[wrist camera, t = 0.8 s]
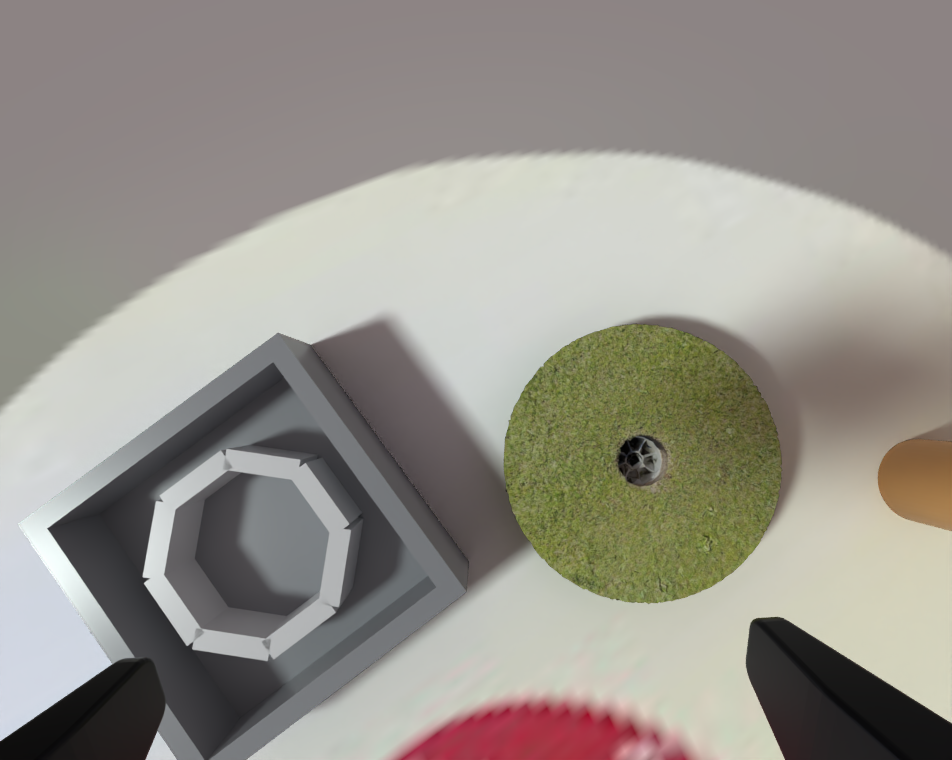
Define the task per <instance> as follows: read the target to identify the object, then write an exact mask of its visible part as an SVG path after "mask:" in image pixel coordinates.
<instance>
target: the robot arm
mask: <svg viewBox="0 0 952 760" xmlns="http://www.w3.org/2000/svg"><path fill="white" fill-rule="evenodd" d="M746 668H747V673H748V676H749V679H750V682H751V684H752V686H753V688H754V691H755V693H756V695H757V697H758V700H759V702H760V704H761V706H762V709H763V711H764V713H765V715H766V718H767V720H768V722H769V724H770V727H771V729H772V731H773V733H774V736H775V738H776V740H777V742H778V745H779V747H780V749H781V751H782V754H783V756H784V758H785V760H952V723H950V722H949V721H947V720H945V719H944V718H942V717H941V716H939V715H937V714H936V713H934V712H933V711H931V710H930V709H928V708H926V707H925V706H923V705H922V704H920V703H918V702H917V701H915V700H914V699H912V698H910V697H909V696H907V695H906V694H904V693H902V692H901V691H899V690H898V689H896V688H894V687H893V686H891V685H890V684H888V683H886V682H885V681H883V680H882V679H880V678H878V677H877V676H875V675H874V674H872V673H871V672H869V671H867V670H866V669H864V668H863V667H861V666H859V665H858V664H856V663H855V662H853V661H851V660H850V659H848V658H847V657H845V656H843V655H842V654H840V653H839V652H837V651H835V650H834V649H832V648H831V647H829V646H827V645H826V644H824V643H823V642H821V641H819V640H818V639H816V638H815V637H813V636H811V635H810V634H808V633H807V632H805V631H804V630H802V629H800V628H799V627H797V626H796V625H794V624H792V623H791V622H789V621H787V620H786V619H784V618H781V617H768V618H756V619H754V620H753V621H752V622H751V624H750V629H749V638H748V646H747V654H746ZM165 707H166V697H165V693H164V690H163V687H162V684H161V681H160V678H159V675H158V671H157V668H156V665H155V663H154V661H153V660H152V659H151V658H149V657H136V658H125V659H121V660H118V661H117V662H115V663H114V664H112V665H111V666H109V667H108V668H106V669H105V670H103V671H102V672H100V673H99V674H98V675H96V676H95V677H93V678H92V679H90V680H89V681H87V682H86V683H84V684H83V685H82V686H80V687H79V688H77V689H76V690H74V691H73V692H71V693H70V694H68V695H67V696H66V697H64V698H63V699H61V700H60V701H58V702H57V703H55V704H54V705H52V706H51V707H50V708H48V709H47V710H45V711H44V712H42V713H41V714H39V715H38V716H36V717H35V718H34V719H32V720H31V721H29V722H28V723H26V724H25V725H23V726H22V727H20V728H19V729H18V730H16V731H15V732H13V733H12V734H10V735H9V736H7V737H6V738H4V739H3V740H2V741H0V760H145V759H146V757H147V755H148V752H149V750H150V747H151V745H152V743H153V740H154V738H155V735H156V733H157V731H158V728H159V726H160V723H161V721H162V719H163V716H164V712H165Z"/></svg>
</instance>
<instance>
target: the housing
mask: <svg viewBox="0 0 952 760" xmlns="http://www.w3.org/2000/svg"><path fill="white" fill-rule="evenodd" d="M18 525H19V527H20V528H21V530H22V531H23V533H24V534H25V536H26V537H27V539H28V540H29V542H30V543H31V544H32V546H33V547H34V549H35V550H36V552H37V553H38V555H39V556H40V558H41V559H42V561H43V562H44V564H45V565H46V567H47V568H48V570H49V571H50V573H51V574H52V575H53V577H54V578H55V580H56V581H57V583H58V584H59V586H60V587H61V589H62V590H63V592H64V593H65V595H66V596H67V598H68V599H69V601H70V602H71V604H72V605H73V606H74V608H75V609H76V611H77V612H78V614H79V615H80V617H81V618H82V620H83V621H84V623H85V624H86V626H87V627H88V629H89V630H90V632H91V633H92V635H93V636H94V638H95V639H96V640H97V642H98V643H99V645H100V646H101V648H102V649H103V651H104V652H105V654H106V655H107V657H108V658H109V660H110V661H111V663H112V664H114V663H115V662H117V661H118V660H121V659H125V658H136V657H149V658H151V659H152V660H153V661H154V663H155V665H156V668H157V671H158V675H159V678H160V681H161V684H162V687H163V690H164V693H165V697H166V707H165V712H164V716H163V719H162V721H161V723H160V726H159V728H158V732H159V734H160V735H161V736H162V738H163V739H164V741H165V742H166V744H167V745H168V747H169V748H170V750H171V751H172V753H173V754H174V756H175V757H176V759H177V760H246V759H248V758H249V757H250V756H252V755H253V754H254V753H256V752H257V751H258V750H260V749H261V748H262V747H264V746H265V745H266V744H267V743H269V742H270V741H271V740H273V739H274V738H275V737H277V736H278V735H279V734H281V733H282V732H283V731H285V730H286V729H287V728H289V727H290V726H291V725H292V724H294V723H295V722H296V721H298V720H299V719H300V718H302V717H303V716H304V715H306V714H307V713H308V712H310V711H311V710H312V709H313V708H315V707H316V706H317V705H319V704H320V703H321V702H323V701H324V700H325V699H327V698H328V697H329V696H331V695H332V694H333V693H335V692H336V691H337V690H338V689H340V688H341V687H342V686H344V685H345V684H346V683H348V682H349V681H350V680H352V679H353V678H354V677H356V676H357V675H358V674H359V673H361V672H362V671H363V670H365V669H366V668H367V667H369V666H370V665H371V664H373V663H374V662H375V661H377V660H378V659H379V658H380V657H382V656H383V655H384V654H386V653H387V652H388V651H390V650H391V649H392V648H394V647H395V646H396V645H398V644H399V643H400V642H402V641H403V640H404V639H405V638H407V637H408V636H409V635H411V634H412V633H413V632H415V631H416V630H417V629H419V628H420V627H421V626H423V625H424V624H425V623H426V622H428V621H429V620H430V619H432V618H433V617H434V616H436V615H437V614H438V613H440V612H441V611H442V610H444V609H445V608H446V607H447V606H449V605H450V604H451V603H453V602H454V601H455V600H457V599H458V598H459V597H461V596H462V595H463V594H465V593H466V592H467V582H468V568H469V561H468V560H467V559H466V557H465V556H464V554H463V553H462V552H461V550H460V549H459V548H458V546H457V545H456V543H455V542H454V541H453V539H452V538H451V537H450V535H449V534H448V533H447V531H446V530H445V528H444V527H443V526H442V524H441V523H440V522H439V520H438V519H437V517H436V516H435V515H434V513H433V512H432V511H431V509H430V508H429V507H428V505H427V504H426V502H425V501H424V500H423V498H422V497H421V496H420V494H419V493H418V491H417V490H416V489H415V487H414V486H413V485H412V483H411V482H410V481H409V479H408V478H407V476H406V475H405V474H404V472H403V471H402V470H401V468H400V467H399V466H398V464H397V463H396V461H395V460H394V459H393V457H392V456H391V455H390V453H389V452H388V450H387V449H386V448H385V446H384V445H383V444H382V442H381V441H380V440H379V438H378V437H377V435H376V434H375V433H374V431H373V430H372V429H371V427H370V426H369V424H368V423H367V422H366V420H365V419H364V418H363V416H362V415H361V414H360V412H359V411H358V409H357V408H356V407H355V405H354V404H353V403H352V401H351V400H350V399H349V397H348V396H347V394H346V393H345V392H344V390H343V389H342V388H341V386H340V385H339V383H338V382H337V381H336V379H335V378H334V377H333V375H332V374H331V373H330V371H329V370H328V368H327V367H326V366H325V364H324V363H323V362H322V360H321V359H320V357H319V356H318V355H317V353H316V352H315V351H314V349H313V348H312V347H311V345H310V344H307V343H304V342H302V341H299V340H296V339H294V338H291V337H288V336H285V335H283V334H280V333H277V334H276V335H274V336H273V337H272V338H270V339H269V340H268V341H266V342H265V343H263V344H262V345H261V346H259V347H258V348H257V349H255V350H254V351H253V352H251V353H250V354H248V355H247V356H246V357H244V358H243V359H242V360H240V361H239V362H238V363H236V364H235V365H233V366H232V367H231V368H229V369H228V370H227V371H225V372H224V373H223V374H221V375H220V376H219V377H217V378H216V379H214V380H213V381H212V382H210V383H209V384H208V385H206V386H205V387H204V388H202V389H201V390H199V391H198V392H197V393H195V394H194V395H193V396H191V397H190V398H189V399H187V400H186V401H184V402H183V403H182V404H180V405H179V406H178V407H176V408H175V409H174V410H172V411H171V412H169V413H168V414H167V415H165V416H164V417H163V418H161V419H160V420H159V421H157V422H156V423H155V424H153V425H152V426H150V427H149V428H148V429H146V430H145V431H144V432H142V433H141V434H140V435H138V436H137V437H135V438H134V439H133V440H131V441H130V442H129V443H127V444H126V445H125V446H123V447H122V448H120V449H119V450H118V451H116V452H115V453H114V454H112V455H111V456H110V457H108V458H107V459H105V460H104V461H103V462H101V463H100V464H99V465H97V466H96V467H95V468H93V469H92V470H91V471H89V472H88V473H86V474H85V475H84V476H82V477H81V478H80V479H78V480H77V481H76V482H74V483H73V484H71V485H70V486H69V487H67V488H66V489H65V490H63V491H62V492H61V493H59V494H58V495H56V496H55V497H54V498H52V499H51V500H50V501H48V502H47V503H46V504H44V505H43V506H42V507H40V508H39V509H37V510H36V511H35V512H33V513H32V514H31V515H29V516H28V517H27V518H25V519H24V520H22V521H21V522H20V523H18Z"/></svg>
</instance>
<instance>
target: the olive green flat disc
mask: <svg viewBox="0 0 952 760" xmlns="http://www.w3.org/2000/svg"><path fill="white" fill-rule="evenodd" d="M777 435H778V433H777V431H776V426H775V424H774V422H773V418H772V417H771V413H770V411H769V408H768V406H767V404H766V402H765V400H764V399H763V398H761V393H760V392H758V389H757V386H754V385H753V381H752V380H751V378H750V377H749V376H748V375H747V374H746V373H745V372H744V370H743V369H742V368H740V367H739V365H738V364H737V363H736V362H735V361H734V360H733V359H731V358H730V357H729V356H728V355H726V354H725V353H724V351H721V350H719V349H717V348H716V347H715V346H714V345H712V344H710V343H708V342H707V341H704V342H703V339H700V338H698V337H695V336H693V335H691V334H689V333H686V332H682V331H679V330H676V329H673V328H666V327H661V326H658V325H646V324H643V325H640V324H632V325H622V326H615V327H610V328H607V329H604V330H600V331H596V332H594V333H591V334H588V335H586V336H584V337H582V338H579V339H577V340H576V341H573V342H571V343H570V344H569V345H567V346H565V347H563V348H562V349H561V350H560V351H558V352H557V353H556V354H555V355H553V356H551V357H550V358H549V359H548V360H547V361H546V362H545V363H544V367H540V368H539V370H538V371H537V372H536V374H535V375H534V377H533V378H532V379H531V380H530V381H529V383H528V384H527V385H526V386H525V389H524V391H523V392H522V393H521V396H520V399H519V400H518V402H517V403H516V405H515V407H514V409H513V412H512V414H511V420H509V427H508V430H507V433H506V437H505V449H504V475H505V482H506V492H507V493H508V494H509V501H510V504H511V507H512V512H513V513H514V514H515V515H516V517H515V518H516V520H517V522H518V524H519V526H520V528H521V530H522V531H523V533H524V535H525V536H526V537H527V539H528V540H529V541H531V543H532V545H533V547H534V549H535V550H536V552H537V553H538V554H539V556H540V557H541V558H542V559H545V561H546V562H547V563H548V565H549V566H550V567H552V568H553V569H554V570H556V571H557V572H558V573H559V574H560V575H561V574H562V577H564V578H566V579H568V580H570V581H571V582H573V583H575V584H576V585H578V586H579V587H581V588H582V589H588V590H589V591H591V592H593V593H595V594H597V595H600V596H603V597H608V598H610V599H616V600H622V601H624V602H632V603H634V602H637V603H644V602H646V603H648V604H649V603H658V602H666V601H673V600H676V599H681V598H685V597H688V596H689V595H693V594H696V593H698V592H701V591H702V590H704V589H708V588H710V587H712V586H713V585H715V584H716V583H717V582H719V581H722V580H723V579H724V578H725V577H726V576H728V575H729V574H731V573H732V572H734V571H735V570H736V569H737V568H738V567H739V566H740V565H741V564H742V563H743V562H744V561H745V560H746V559H747V557H748V556H749V555H750V554H751V553H752V552H753V551H754V550H755V548H756V546H757V545H758V544H759V543H760V541H761V538H762V537H763V535H764V532H765V531H766V530H767V526H768V525H769V523H770V521H771V518H772V516H773V515H774V511H775V507H776V504H777V501H778V498H779V494H778V492H779V490H780V481H781V471H782V469H781V467H780V465H781V464H782V460H781V450H780V443H779V440H778V438H777Z"/></svg>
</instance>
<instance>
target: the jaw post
mask: <svg viewBox="0 0 952 760" xmlns="http://www.w3.org/2000/svg"><path fill="white" fill-rule="evenodd" d="M878 485H879V490H880V493H881V495H882V497H883V499H884V501H885V502H886V504H887V505H888V506H889V507H890V509H891V510H893V511H894V512H895V513H896V514H898V515H899V516H901V517H903V518H905V519H908V520H911V521H915V522H919V523H922V524H926V525H930V526H934V527H938V528H942V529H945V530H949V531H952V442H950V441H936V440H922V439H912V440H907V441H904V442H901V443H899V444H897V445H896V446H894V447H893V448H892V449H890V450H889V451H888V453H887V454H886V455H885V456H884V458H883V460H882V462H881V464H880V467H879V472H878Z"/></svg>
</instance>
